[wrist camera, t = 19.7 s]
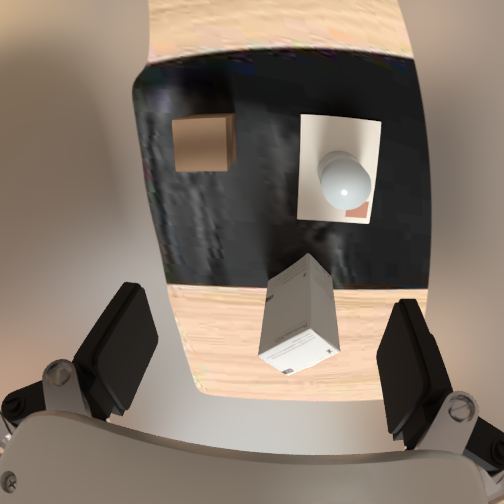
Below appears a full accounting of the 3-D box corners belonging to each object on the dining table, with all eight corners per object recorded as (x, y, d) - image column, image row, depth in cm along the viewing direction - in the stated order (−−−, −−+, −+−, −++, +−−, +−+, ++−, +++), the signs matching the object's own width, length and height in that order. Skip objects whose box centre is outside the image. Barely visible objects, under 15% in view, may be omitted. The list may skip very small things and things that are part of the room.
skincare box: (308, 250, 43) (312, 324, 30) (333, 277, 45) (344, 352, 32) (265, 281, 47) (254, 356, 34) (291, 305, 48) (287, 379, 36)
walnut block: (189, 114, 35) (171, 120, 30) (235, 112, 34) (225, 117, 29) (191, 159, 38) (175, 171, 33) (236, 158, 38) (227, 171, 32)
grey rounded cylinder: (318, 149, 35) (323, 161, 30) (361, 152, 35) (373, 164, 30) (316, 190, 38) (321, 209, 33) (357, 192, 37) (368, 211, 32)
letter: (301, 114, 34) (301, 114, 33) (380, 121, 32) (381, 121, 32) (297, 218, 41) (297, 219, 40) (368, 223, 40) (368, 223, 39)
